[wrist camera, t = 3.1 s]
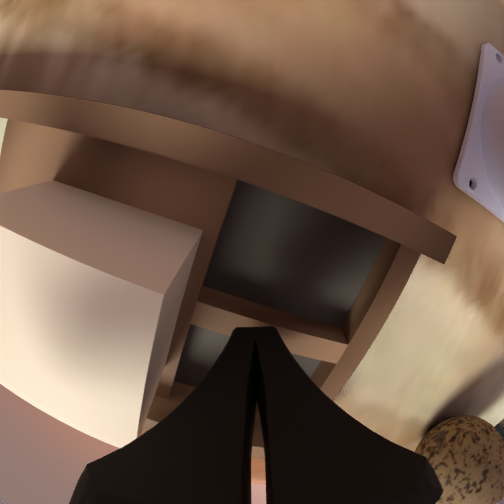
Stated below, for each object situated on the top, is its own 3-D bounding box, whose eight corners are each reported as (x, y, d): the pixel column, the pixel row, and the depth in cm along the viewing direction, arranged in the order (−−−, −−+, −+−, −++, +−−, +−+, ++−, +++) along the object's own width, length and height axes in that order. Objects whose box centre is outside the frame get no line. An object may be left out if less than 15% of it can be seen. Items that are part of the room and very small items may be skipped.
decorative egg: (483, 410, 15) (533, 491, 6) (416, 461, 17) (448, 548, 8) (463, 380, 14) (533, 489, 4) (379, 444, 16) (416, 561, 6)
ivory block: (203, 230, 9) (164, 294, 5) (164, 366, 11) (134, 453, 7) (52, 180, 9) (-39, 205, 4) (44, 314, 10) (-14, 373, 6)
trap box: (414, 216, 11) (456, 236, 8) (297, 420, 14) (303, 463, 11) (-33, 90, 8) (-69, 89, 5) (-46, 275, 12) (-73, 293, 9)
